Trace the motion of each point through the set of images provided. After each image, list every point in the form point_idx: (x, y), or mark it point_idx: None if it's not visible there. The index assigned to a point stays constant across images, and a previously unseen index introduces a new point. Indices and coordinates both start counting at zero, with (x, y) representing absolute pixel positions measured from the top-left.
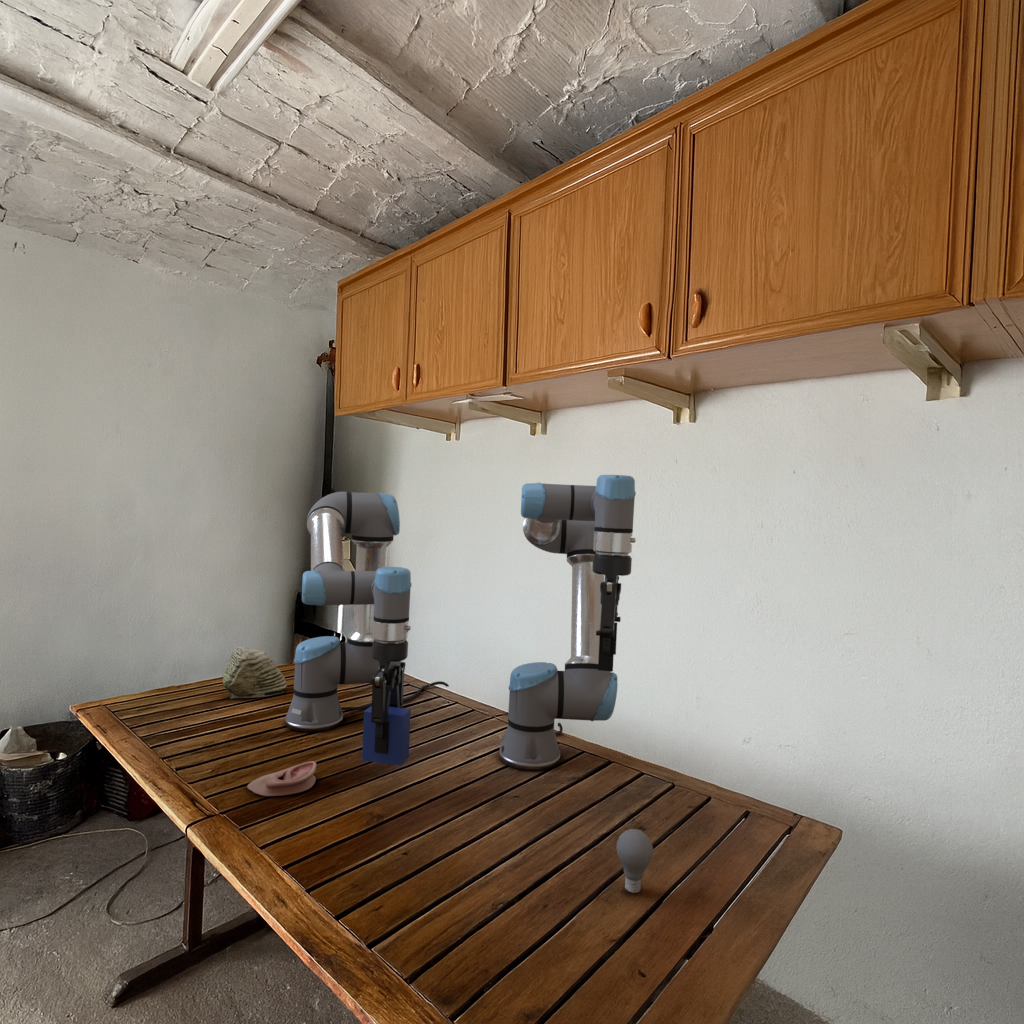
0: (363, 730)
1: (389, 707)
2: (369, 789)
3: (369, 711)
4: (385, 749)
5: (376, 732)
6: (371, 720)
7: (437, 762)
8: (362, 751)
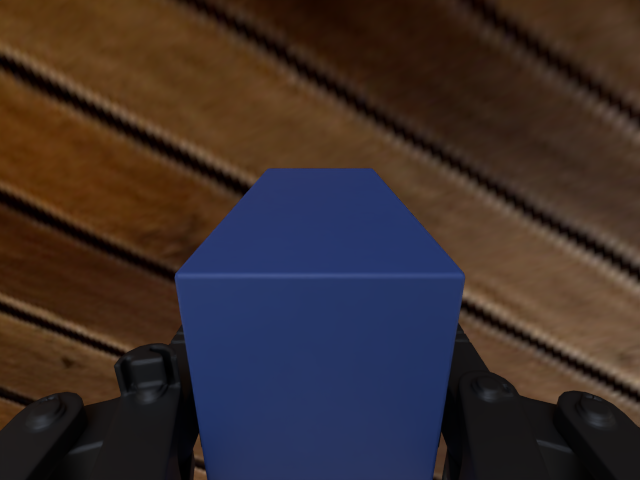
0: (231, 210)
1: (403, 462)
2: (336, 158)
3: (203, 333)
4: None
5: (173, 341)
6: (16, 419)
7: (569, 291)
8: (260, 177)
